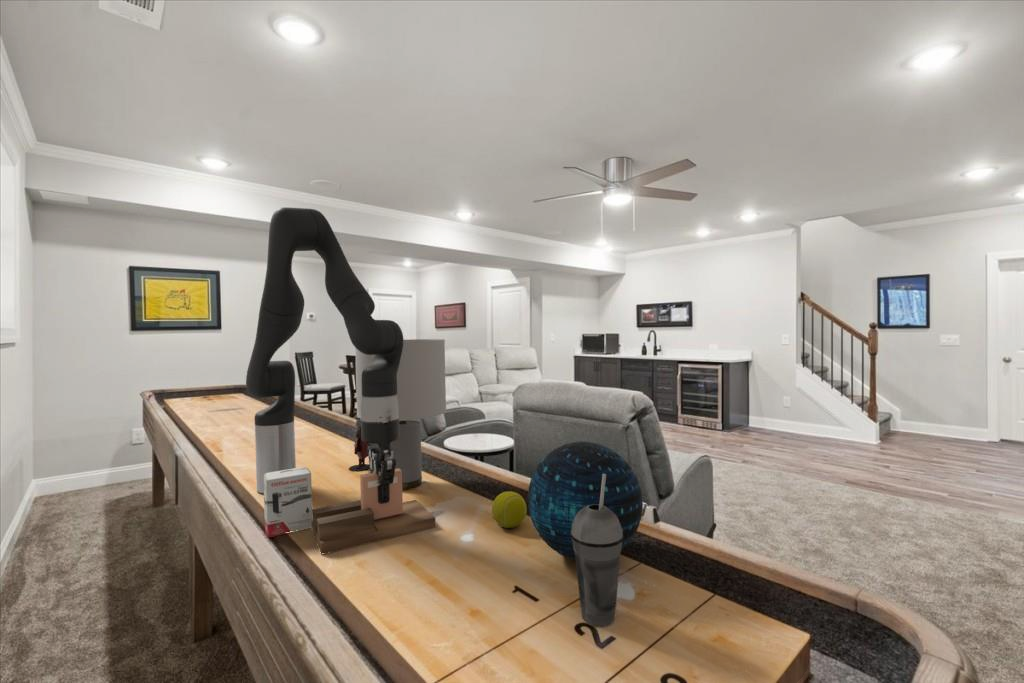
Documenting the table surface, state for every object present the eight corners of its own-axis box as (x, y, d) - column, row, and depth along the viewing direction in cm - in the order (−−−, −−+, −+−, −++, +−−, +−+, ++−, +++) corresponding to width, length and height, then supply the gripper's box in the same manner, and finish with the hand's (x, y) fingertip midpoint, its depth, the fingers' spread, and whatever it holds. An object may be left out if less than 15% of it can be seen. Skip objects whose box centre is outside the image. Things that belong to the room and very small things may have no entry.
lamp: (465, 479, 128) (462, 339, 127) (403, 506, 108) (399, 341, 108) (404, 467, 140) (401, 339, 139) (339, 490, 121) (335, 341, 120)
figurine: (354, 464, 144) (353, 415, 144) (377, 465, 143) (376, 415, 143) (344, 471, 137) (343, 420, 137) (368, 471, 136) (367, 420, 136)
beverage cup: (566, 603, 69) (564, 467, 69) (615, 600, 70) (613, 465, 69) (578, 635, 62) (575, 484, 61) (632, 631, 62) (630, 481, 62)
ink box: (267, 538, 93) (265, 479, 93) (264, 530, 97) (262, 473, 97) (313, 528, 98) (312, 471, 97) (309, 520, 102) (307, 465, 102)
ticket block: (311, 531, 96) (311, 506, 96) (415, 508, 107) (415, 486, 107) (321, 554, 86) (320, 527, 86) (435, 526, 97) (434, 502, 97)
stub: (361, 518, 96) (360, 474, 96) (399, 510, 100) (398, 468, 100) (363, 521, 94) (362, 477, 94) (402, 513, 98) (401, 470, 98)
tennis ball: (533, 528, 95) (532, 494, 95) (503, 536, 92) (502, 501, 92) (515, 517, 101) (514, 484, 101) (486, 524, 98) (485, 490, 98)
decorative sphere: (506, 551, 86) (504, 442, 85) (583, 522, 98) (582, 426, 97) (587, 600, 70) (585, 466, 69) (667, 558, 82) (666, 444, 81)
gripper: (354, 413, 101) (355, 494, 101) (369, 424, 89) (371, 515, 89) (389, 410, 105) (390, 487, 105) (408, 420, 93) (410, 507, 93)
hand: (382, 500), depth 97 cm, fingers closed on stub, 2 cm apart
